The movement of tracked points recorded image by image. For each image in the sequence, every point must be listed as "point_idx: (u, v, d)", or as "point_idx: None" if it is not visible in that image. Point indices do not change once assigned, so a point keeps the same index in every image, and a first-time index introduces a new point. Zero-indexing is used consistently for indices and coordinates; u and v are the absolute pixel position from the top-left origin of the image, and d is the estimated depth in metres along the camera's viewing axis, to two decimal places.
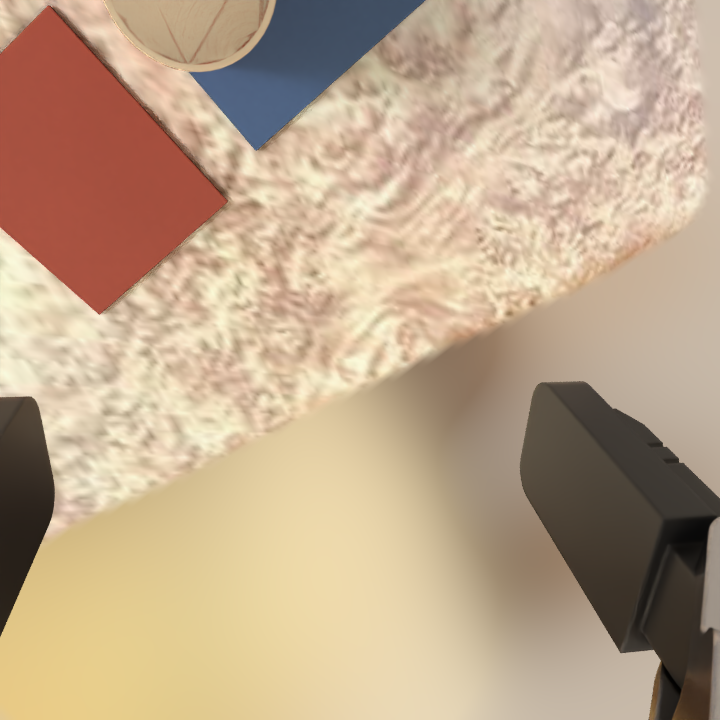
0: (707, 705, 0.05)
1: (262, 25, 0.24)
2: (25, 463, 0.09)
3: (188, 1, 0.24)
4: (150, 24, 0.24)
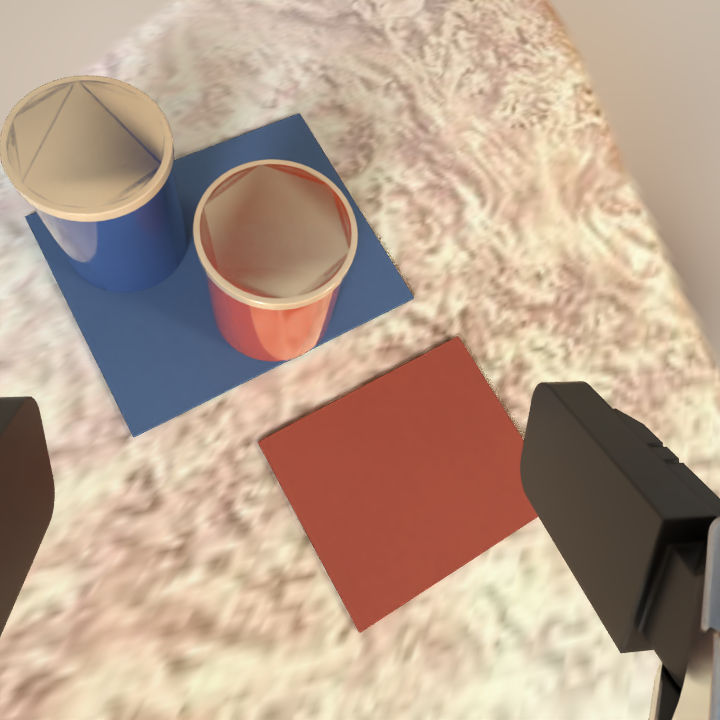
0: (707, 705, 0.05)
1: (328, 182, 0.27)
2: (25, 463, 0.09)
3: (298, 235, 0.26)
4: (310, 271, 0.25)
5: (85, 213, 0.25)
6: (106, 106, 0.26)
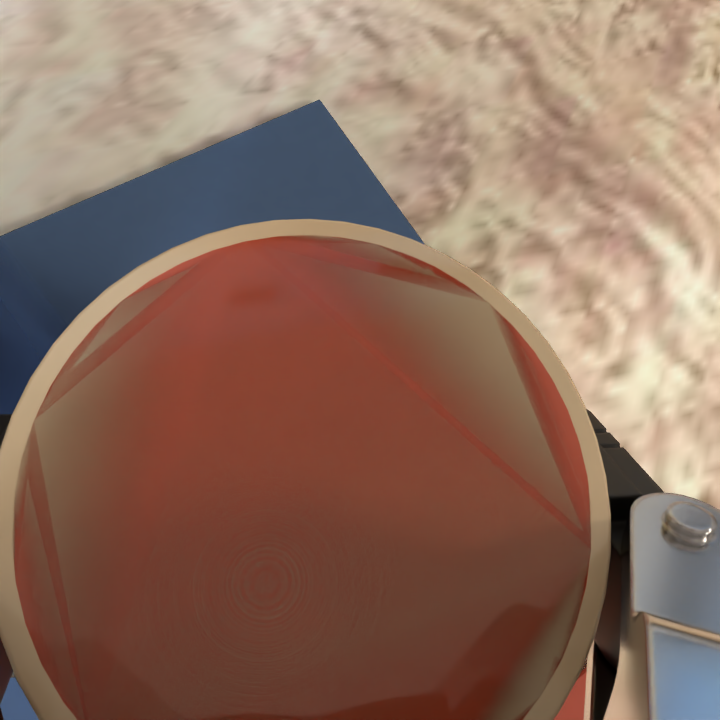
0: (644, 691, 0.05)
1: (478, 288, 0.08)
2: None
3: (401, 504, 0.07)
4: (466, 662, 0.06)
5: None
6: None
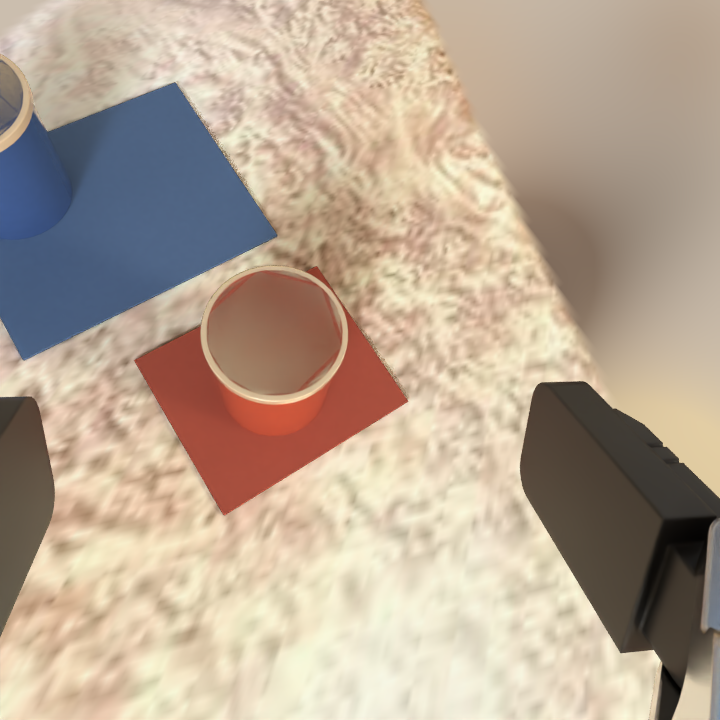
0: (707, 705, 0.05)
1: (318, 283, 0.30)
2: (25, 463, 0.09)
3: (294, 334, 0.29)
4: (307, 368, 0.28)
5: None
6: None
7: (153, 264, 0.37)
